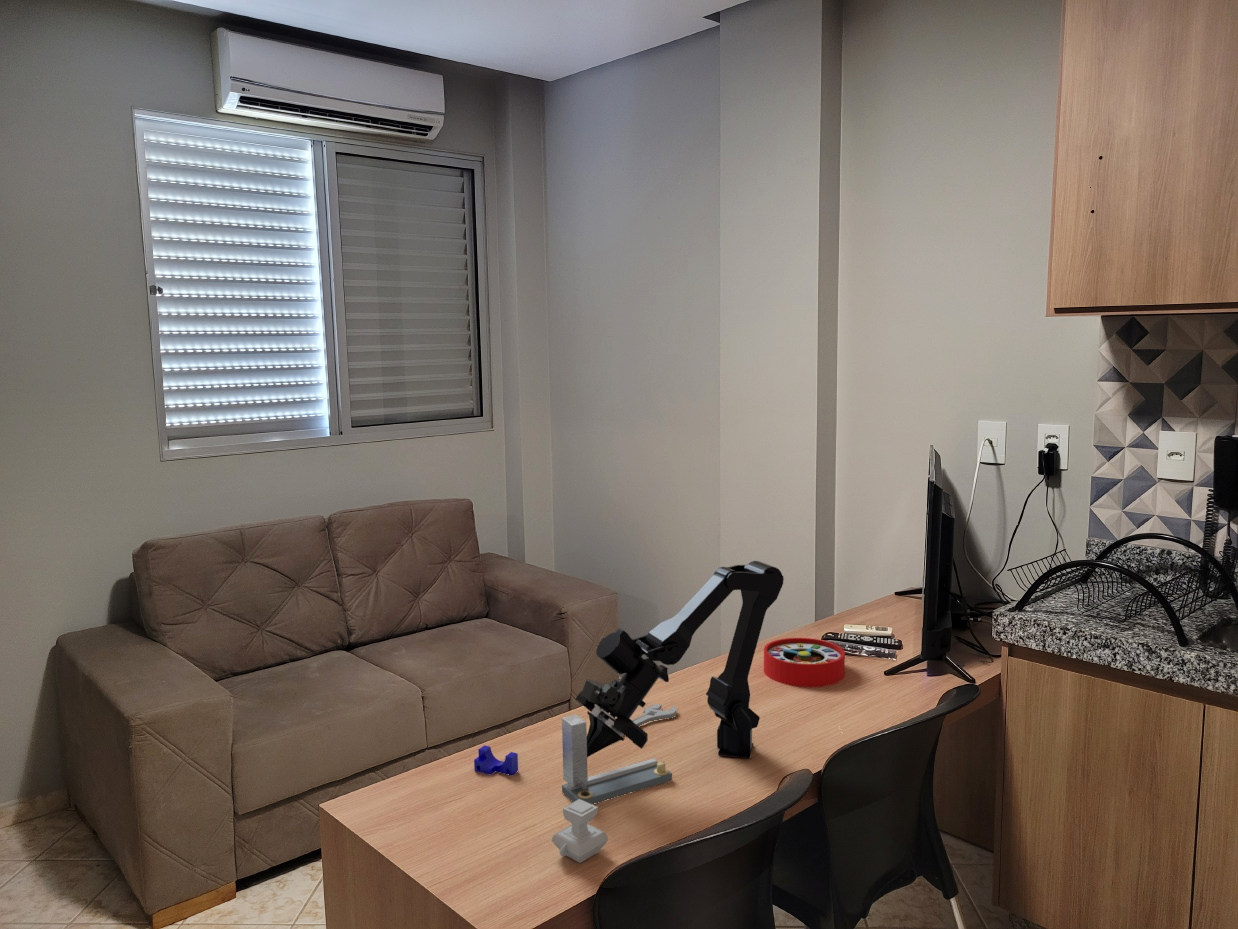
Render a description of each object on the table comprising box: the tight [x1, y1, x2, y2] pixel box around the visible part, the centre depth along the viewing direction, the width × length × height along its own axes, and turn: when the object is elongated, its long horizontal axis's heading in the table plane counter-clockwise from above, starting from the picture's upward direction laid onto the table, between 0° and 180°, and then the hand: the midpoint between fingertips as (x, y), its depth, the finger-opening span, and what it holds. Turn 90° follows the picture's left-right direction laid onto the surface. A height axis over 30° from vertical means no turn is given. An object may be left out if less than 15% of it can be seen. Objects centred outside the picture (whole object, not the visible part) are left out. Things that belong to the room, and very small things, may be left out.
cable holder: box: [473, 744, 519, 776], centre depth 176 cm, size 8×4×4 cm, turn 62°
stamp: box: [551, 799, 609, 864], centre depth 146 cm, size 9×7×8 cm
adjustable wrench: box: [631, 703, 677, 726], centre depth 195 cm, size 25×6×2 cm, turn 130°
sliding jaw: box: [561, 713, 589, 793], centre depth 164 cm, size 3×6×13 cm, turn 30°
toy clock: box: [763, 637, 846, 688], centre depth 226 cm, size 20×6×20 cm
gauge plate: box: [561, 757, 673, 805], centre depth 169 cm, size 20×7×3 cm, turn 120°
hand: (583, 756), depth 166 cm, fingers closed, pressing on sliding jaw
